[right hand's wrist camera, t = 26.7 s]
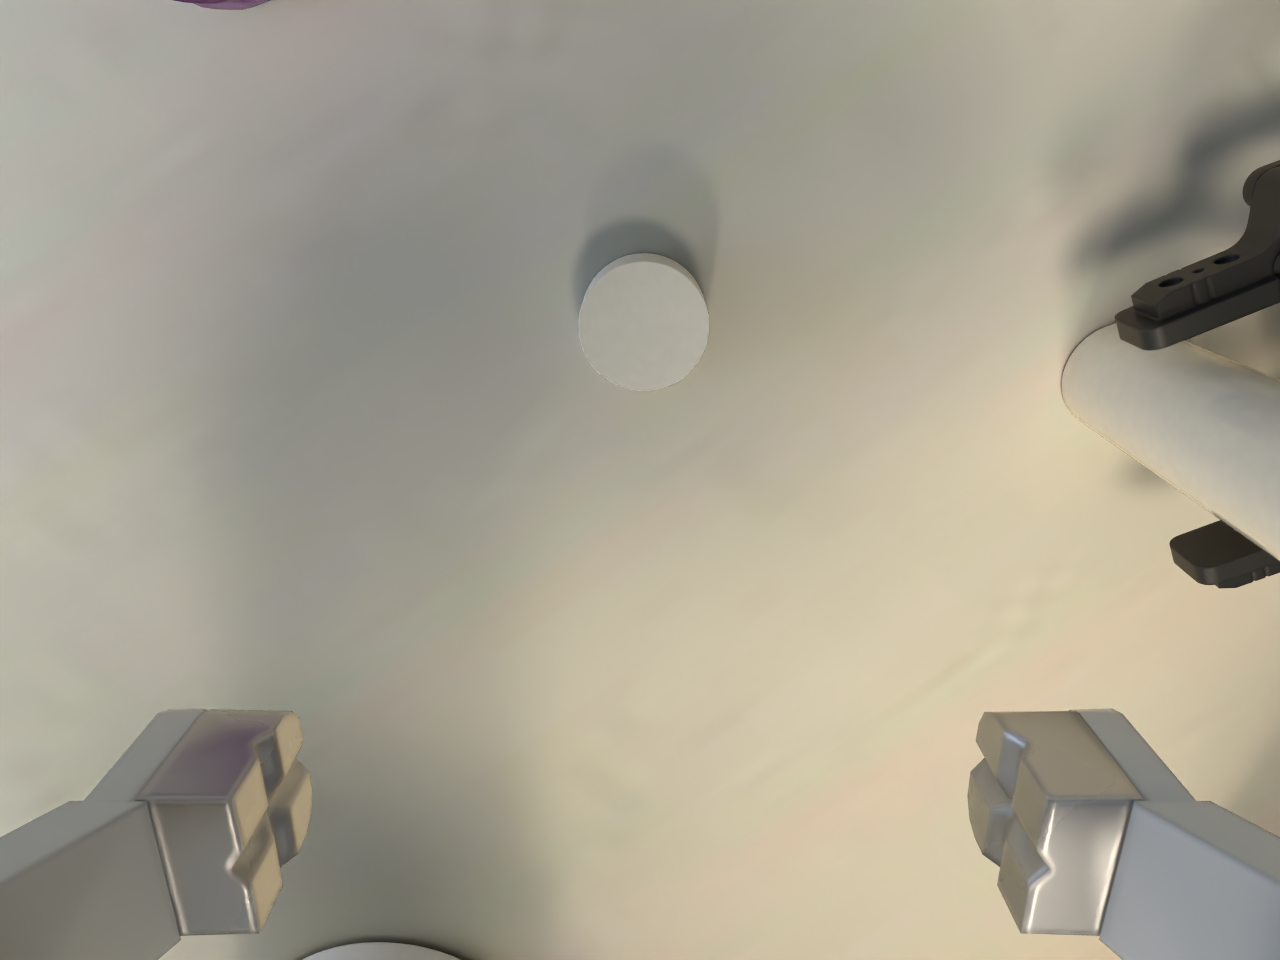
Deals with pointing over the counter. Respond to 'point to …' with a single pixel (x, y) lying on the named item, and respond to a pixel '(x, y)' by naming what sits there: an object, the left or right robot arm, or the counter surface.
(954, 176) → the counter surface
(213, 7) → the figurine
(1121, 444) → the cream cylinder
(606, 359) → the lid
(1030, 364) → the counter surface
